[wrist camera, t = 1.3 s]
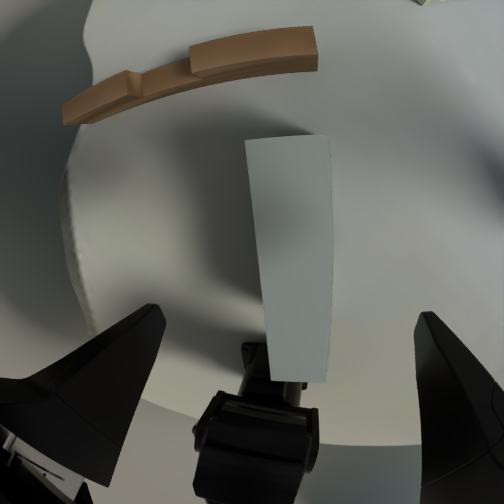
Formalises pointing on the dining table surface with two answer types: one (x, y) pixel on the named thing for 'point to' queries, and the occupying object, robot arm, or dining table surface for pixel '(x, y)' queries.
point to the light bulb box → (430, 1)
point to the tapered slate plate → (294, 250)
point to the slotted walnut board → (199, 71)
